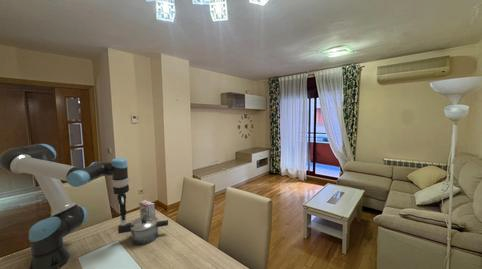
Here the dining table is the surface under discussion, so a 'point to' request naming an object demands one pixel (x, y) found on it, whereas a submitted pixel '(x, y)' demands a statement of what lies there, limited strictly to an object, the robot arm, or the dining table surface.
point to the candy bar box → (147, 208)
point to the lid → (140, 224)
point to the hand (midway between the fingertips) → (123, 224)
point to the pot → (145, 234)
